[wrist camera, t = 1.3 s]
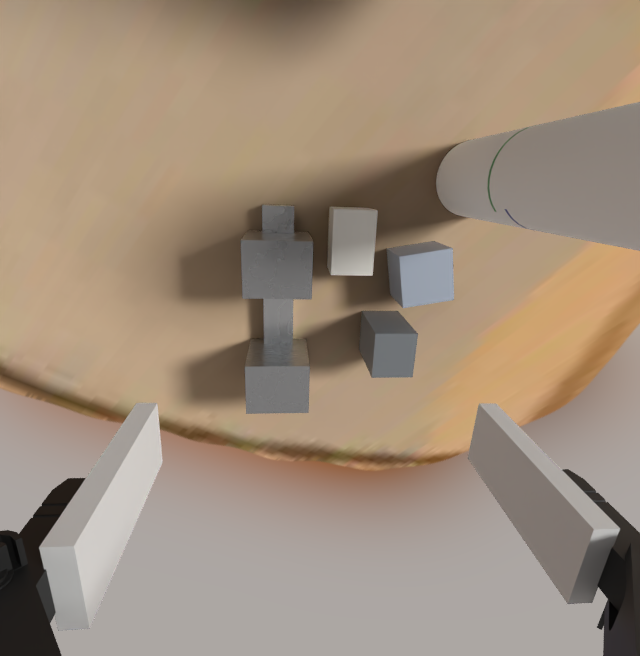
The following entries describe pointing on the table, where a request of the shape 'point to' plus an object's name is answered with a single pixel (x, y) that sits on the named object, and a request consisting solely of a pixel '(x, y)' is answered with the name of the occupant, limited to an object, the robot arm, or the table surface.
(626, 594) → the robot arm
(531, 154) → the cylindrical container
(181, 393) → the table surface
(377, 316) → the block
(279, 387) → the grey stepped block assembly
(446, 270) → the loose block slate
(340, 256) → the loose block white
